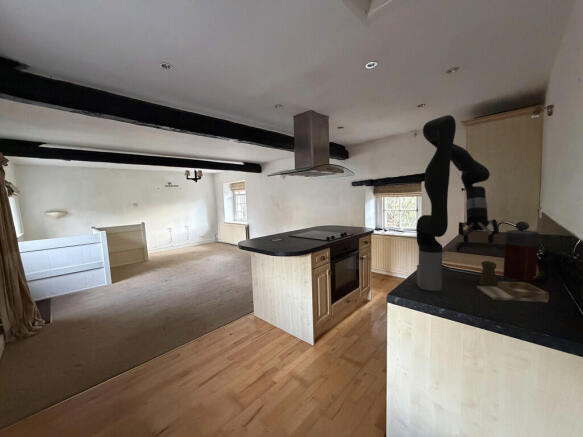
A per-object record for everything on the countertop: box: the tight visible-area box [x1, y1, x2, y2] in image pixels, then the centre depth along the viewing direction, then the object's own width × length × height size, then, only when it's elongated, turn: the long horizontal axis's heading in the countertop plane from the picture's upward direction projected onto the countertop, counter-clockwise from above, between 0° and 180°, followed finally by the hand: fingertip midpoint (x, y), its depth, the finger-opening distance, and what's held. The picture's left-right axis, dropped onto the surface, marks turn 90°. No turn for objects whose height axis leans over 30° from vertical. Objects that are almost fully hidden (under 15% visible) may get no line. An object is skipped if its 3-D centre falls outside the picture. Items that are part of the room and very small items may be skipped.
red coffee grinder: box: [503, 220, 540, 283], centre depth 116 cm, size 9×11×28 cm
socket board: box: [476, 281, 550, 303], centre depth 98 cm, size 18×12×4 cm, turn 78°
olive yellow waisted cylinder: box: [479, 260, 497, 287], centre depth 108 cm, size 6×6×11 cm
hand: (478, 243), depth 105 cm, fingers open, 8 cm apart
